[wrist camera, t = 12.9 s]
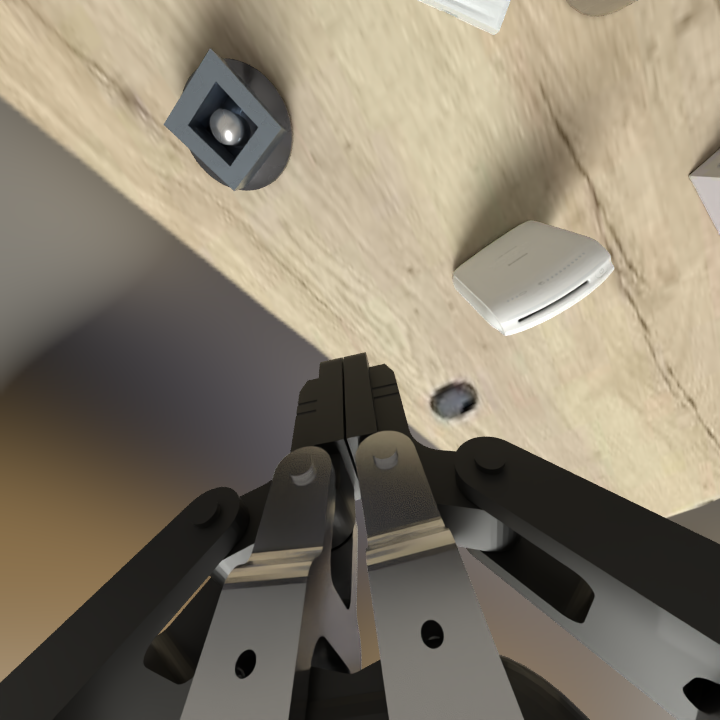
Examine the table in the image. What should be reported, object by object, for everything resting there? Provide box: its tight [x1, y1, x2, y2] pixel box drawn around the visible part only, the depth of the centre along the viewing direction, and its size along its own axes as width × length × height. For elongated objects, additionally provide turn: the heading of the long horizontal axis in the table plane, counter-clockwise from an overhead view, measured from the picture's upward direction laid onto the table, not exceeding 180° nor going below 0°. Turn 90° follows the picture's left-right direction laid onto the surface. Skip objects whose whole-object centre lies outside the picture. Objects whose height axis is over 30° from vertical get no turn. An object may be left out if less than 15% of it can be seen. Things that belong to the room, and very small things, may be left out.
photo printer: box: [453, 220, 614, 336], centre depth 30 cm, size 10×4×12 cm, turn 126°
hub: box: [182, 59, 293, 190], centre depth 26 cm, size 9×9×4 cm
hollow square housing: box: [164, 48, 288, 191], centre depth 25 cm, size 6×6×4 cm
